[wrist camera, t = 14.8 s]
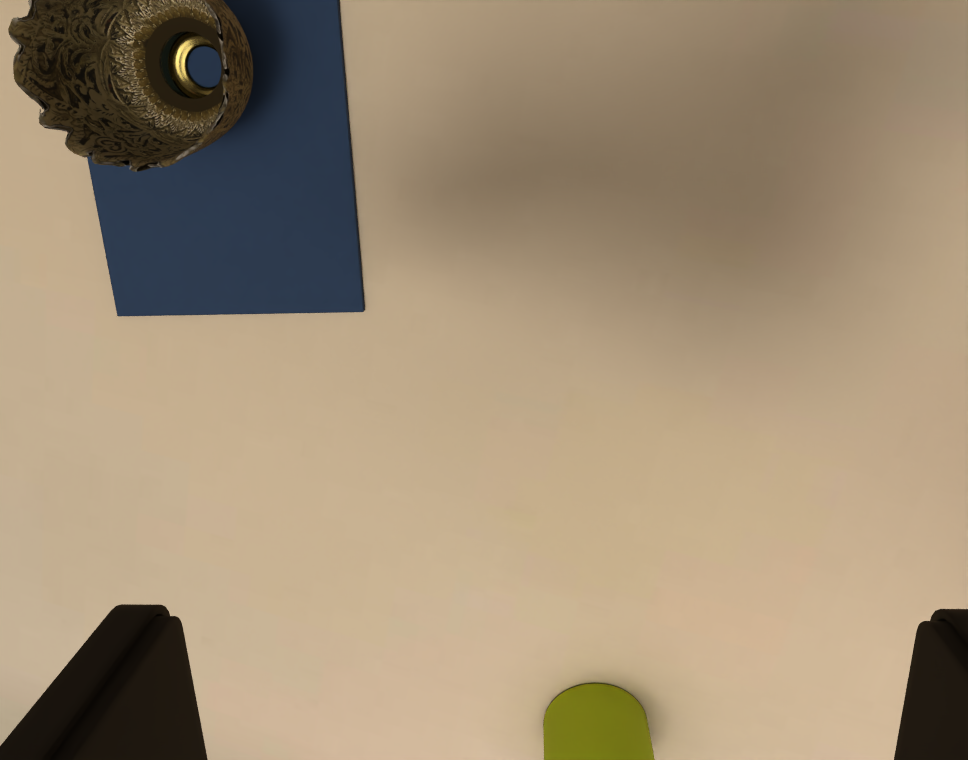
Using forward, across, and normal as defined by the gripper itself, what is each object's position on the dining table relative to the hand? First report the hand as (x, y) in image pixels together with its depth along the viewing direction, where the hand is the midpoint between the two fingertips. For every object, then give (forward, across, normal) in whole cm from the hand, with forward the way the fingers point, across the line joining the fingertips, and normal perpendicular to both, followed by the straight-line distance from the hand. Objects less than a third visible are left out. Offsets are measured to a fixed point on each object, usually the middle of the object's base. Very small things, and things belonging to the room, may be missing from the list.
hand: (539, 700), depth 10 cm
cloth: (+28, +14, -9) cm, 33 cm away
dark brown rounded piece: (+28, +14, -9) cm, 33 cm away
